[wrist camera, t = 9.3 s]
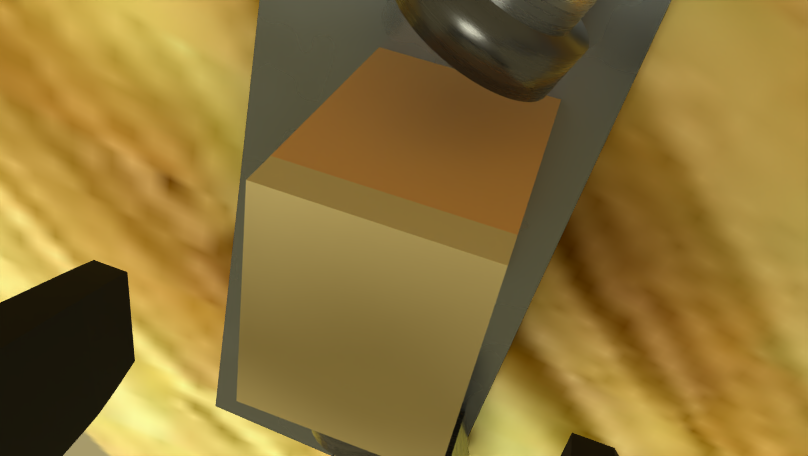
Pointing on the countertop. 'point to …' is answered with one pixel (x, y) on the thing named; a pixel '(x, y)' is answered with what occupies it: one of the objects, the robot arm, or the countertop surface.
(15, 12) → the countertop surface
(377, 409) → the block
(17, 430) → the robot arm
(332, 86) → the base plate
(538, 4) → the shaft
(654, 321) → the countertop surface
